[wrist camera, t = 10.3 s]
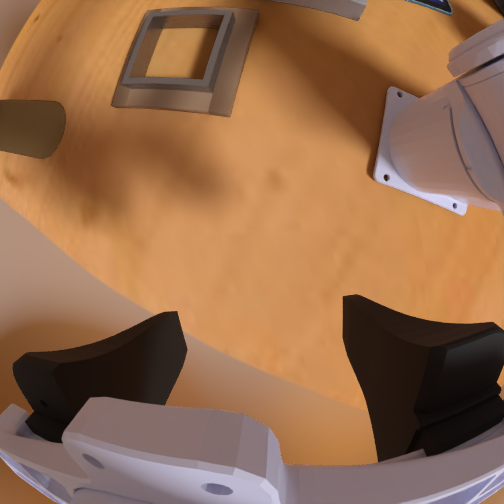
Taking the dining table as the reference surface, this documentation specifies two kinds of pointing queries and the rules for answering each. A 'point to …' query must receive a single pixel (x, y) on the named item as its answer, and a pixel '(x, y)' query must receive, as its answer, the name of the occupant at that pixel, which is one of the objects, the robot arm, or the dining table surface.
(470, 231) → the dining table surface
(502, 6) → the pitcher
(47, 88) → the dining table surface
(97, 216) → the dining table surface
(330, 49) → the dining table surface
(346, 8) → the tray
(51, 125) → the olive pepper mill
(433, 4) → the smartphone
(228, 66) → the collar stand
